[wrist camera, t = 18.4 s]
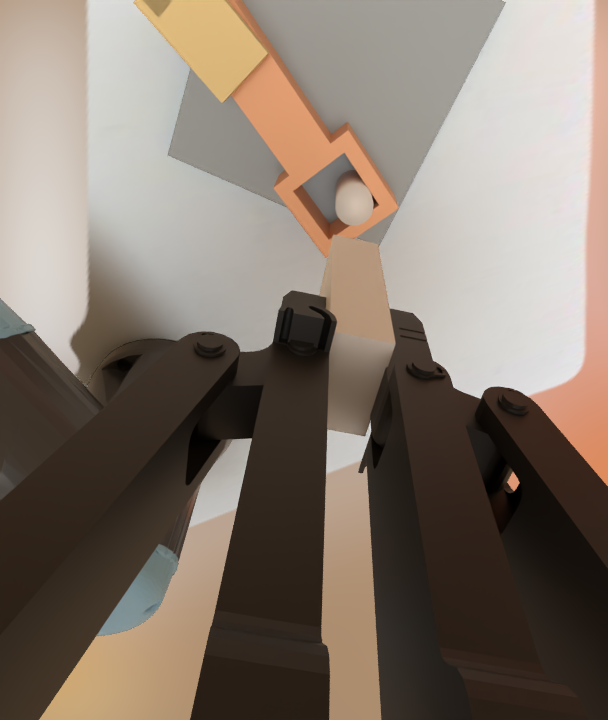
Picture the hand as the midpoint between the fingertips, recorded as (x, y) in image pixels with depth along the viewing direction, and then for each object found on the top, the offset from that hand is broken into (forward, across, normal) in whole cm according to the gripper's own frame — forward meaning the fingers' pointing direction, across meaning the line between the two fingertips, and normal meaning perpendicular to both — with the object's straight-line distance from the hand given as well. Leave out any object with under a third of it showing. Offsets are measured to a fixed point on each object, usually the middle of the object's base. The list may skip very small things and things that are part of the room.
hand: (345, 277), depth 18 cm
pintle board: (+26, +4, -4) cm, 27 cm away
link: (+25, +4, -1) cm, 26 cm away
